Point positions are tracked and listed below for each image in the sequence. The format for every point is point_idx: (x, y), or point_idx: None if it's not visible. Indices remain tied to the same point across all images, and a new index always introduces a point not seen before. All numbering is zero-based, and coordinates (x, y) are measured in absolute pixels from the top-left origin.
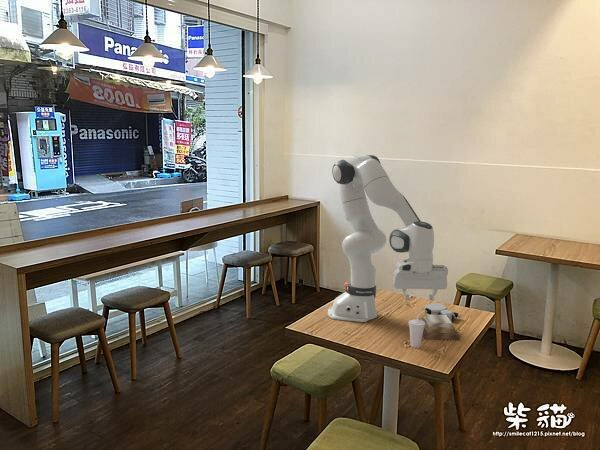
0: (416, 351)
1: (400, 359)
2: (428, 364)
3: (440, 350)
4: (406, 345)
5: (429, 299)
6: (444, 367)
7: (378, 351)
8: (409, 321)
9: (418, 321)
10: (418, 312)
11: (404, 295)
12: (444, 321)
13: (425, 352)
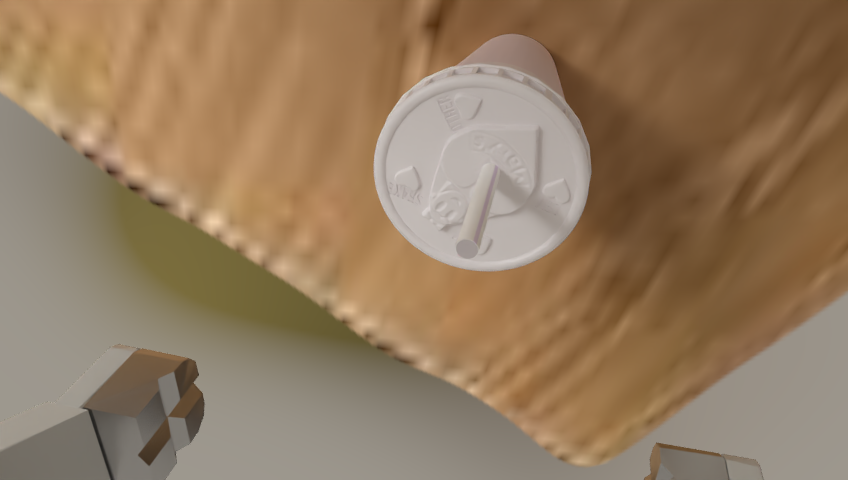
0: None
1: (340, 301)
2: (513, 376)
3: (714, 187)
4: None
5: (651, 468)
6: (607, 419)
7: (196, 180)
8: (384, 158)
9: (500, 179)
10: (470, 250)
11: (74, 388)
12: None
13: None
